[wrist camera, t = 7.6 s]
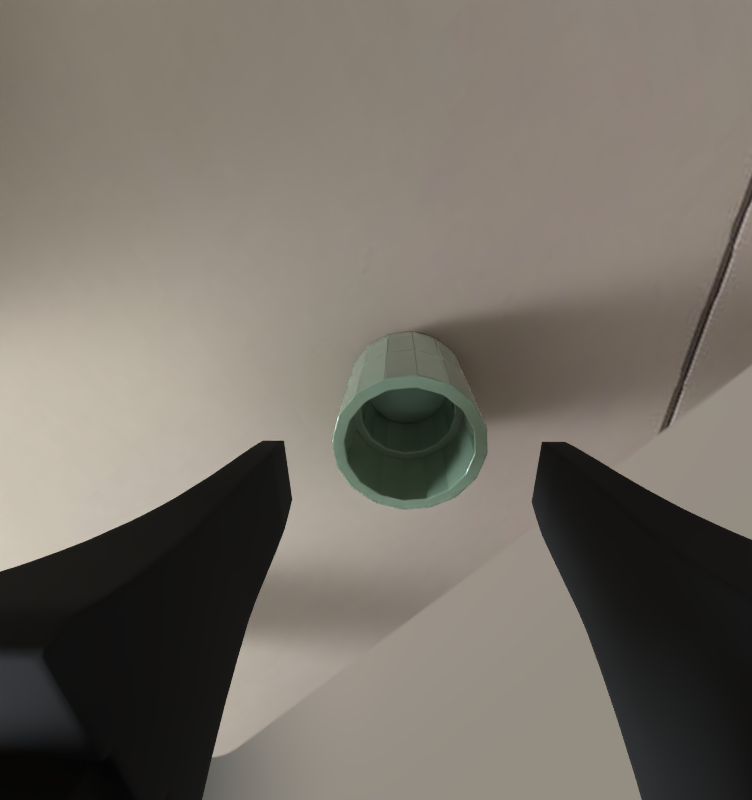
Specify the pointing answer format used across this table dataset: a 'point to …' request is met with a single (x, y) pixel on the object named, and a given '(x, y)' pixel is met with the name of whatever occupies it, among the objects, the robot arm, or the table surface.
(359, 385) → the green faceted cup
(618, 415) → the table surface
